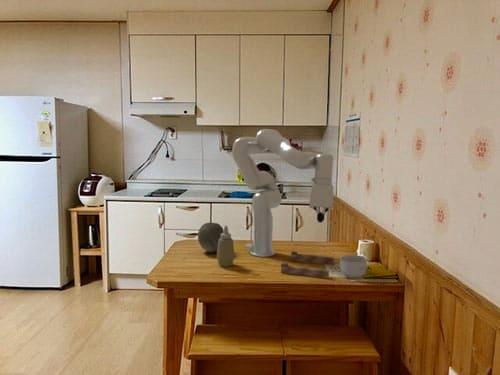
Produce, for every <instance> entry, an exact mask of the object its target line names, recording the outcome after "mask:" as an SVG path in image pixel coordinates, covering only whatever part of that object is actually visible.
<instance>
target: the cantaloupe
mask: <svg viewBox="0 0 500 375" xmlns="http://www.w3.org/2000/svg"><path fill="white" fill-rule="evenodd" d="M223 231H224V228H223V226H222V225H221V224H219V223H217V222H211V221H210V222H205V223H203V224H202V225H201V226H200V228H199V229H198V232H197V241H198V243H199V245H200V247H201V248H202V249H204V250H205V251H206V252H208V253H211V254H214V253H217V250H218V241H219V239H220V238H221V234H222V233H223Z"/></svg>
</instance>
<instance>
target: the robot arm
mask: <svg viewBox="0 0 500 375" xmlns="http://www.w3.org/2000/svg"><path fill="white" fill-rule="evenodd" d="M255 136H256V137H252V136H242V137H238V138H237V139H236V140H234V142H233V144H232V149H231V153H232V154H231V155H232V157H233V160H234V163H235V164H236V165H237V168H238V169H239V171H240V174H241V176H242V179H243V180H244V183H245V184H246V186H247V188H248V190H250V191H255V192H256V191H258V192H256V193H255V194H253V196H252V198H251V205H252V214H253V231H252V232H253V236H252V237H253V239H252V240H253V243H245V248H246V249H250V250H249V254H250V255H252V256H254V257H261V258H262V257H263V258H264V257H266V258H267V257H273V256H275V254H276V250H275V249H273V229H274V228H273V227H274V226H273V225H274V224H273V222H274V221H273V220H274V219H273V213H272V209H276V208H278V207H279V206H281V204H282V194H281V192H280V190H279V187H278V185H277V184H276V181H275V179H274V177H273V175H272V174H270V173H269V172H267V171H265V170H259V168H258V166H257V165H256V162H255V160H253V158H252V157H251V156H250V155H251V154H252V155H256V154H257V155H258V154H261V153H263V152H266V151H270V152H272V153H274V154H276V155H278V156H279V157H280V158H281V159H282V160H283V161H284V162H285V163H287V164H289V165H291V166H292V167H294V168H296V169H297V170H298V169H299V170H312V169H314V170H315V171H314V177H313V178H311V180H310V181H311V182H313V183H312V185H311V188H310V195H309V209H311V210H314V211H315V212H316V220H317V223H323V221H324V220H325V214H326V213H327V212H329V211H333V210H334V201H335V200H334V197H335V196H334V185H333V184H332V182H333V168H334V166H333V165H334V155H333V154H330V153H317V152H310V151H309V152H307V151H301V150H299V149H296V148H295V147H294V146H292V145H291V141H290V140H289V139H287V138H286V137H284V136H282V135H281V133H280V132H279V131H278V130H276V129H270V128H263V129H260V130H259V131H258V132H257V133H256V135H255ZM321 208H322V210H321Z"/></svg>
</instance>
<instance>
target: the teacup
mask: <svg viewBox="0 0 500 375" xmlns="http://www.w3.org/2000/svg"><path fill="white" fill-rule="evenodd" d="M339 261H340V262H339V263H340V271H341V273H342V275H344V276H345V277H346V278H349V279H360V278H362V277H363V276H365V274H366V273H367V257H365V256H362V255H357V254H356V253H354V254H346V255H345V254H344V255H342V256H341V257H339Z"/></svg>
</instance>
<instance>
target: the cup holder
mask: <svg viewBox="0 0 500 375" xmlns="http://www.w3.org/2000/svg"><path fill="white" fill-rule="evenodd" d="M290 261H295V262H303V263H311V264H320V265H329V266H335V257H331V256H321V255H314V254H304V253H298V251H291V254H290ZM280 273H281V274H289V275H297V276H305V277H312V278H318V279H319V278H320V279H329V276H330V275H329V274H330V270H328V269H323V268H322V269H321V268H314V267H306V266H300V265H299V266H298V265H297V266H296V265H289V264H288V262H282V263H281V264H280Z"/></svg>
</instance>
